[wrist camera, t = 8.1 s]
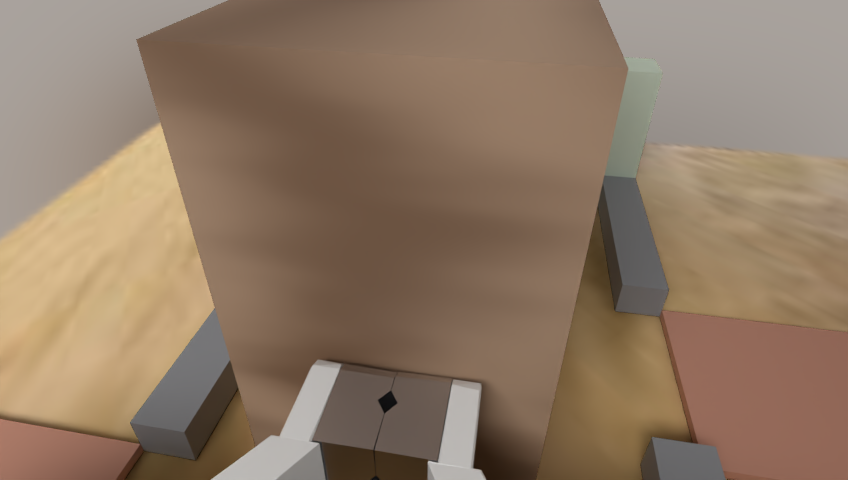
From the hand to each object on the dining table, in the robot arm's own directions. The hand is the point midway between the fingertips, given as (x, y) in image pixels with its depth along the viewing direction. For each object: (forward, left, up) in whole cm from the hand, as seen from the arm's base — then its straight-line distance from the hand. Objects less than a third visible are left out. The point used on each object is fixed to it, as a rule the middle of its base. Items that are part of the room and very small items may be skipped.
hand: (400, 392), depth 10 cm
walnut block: (0, -7, -5) cm, 9 cm away
